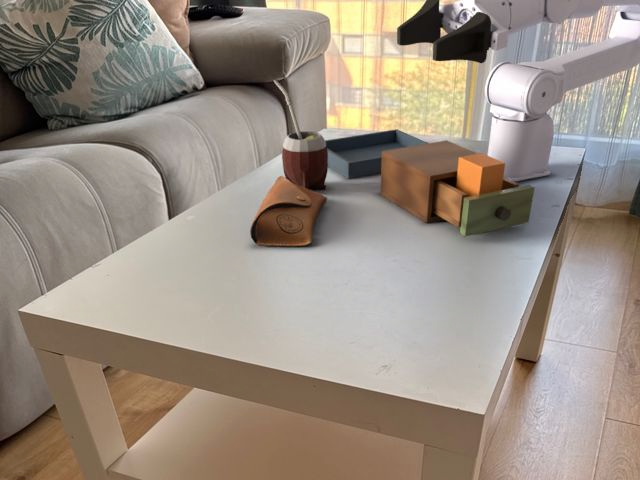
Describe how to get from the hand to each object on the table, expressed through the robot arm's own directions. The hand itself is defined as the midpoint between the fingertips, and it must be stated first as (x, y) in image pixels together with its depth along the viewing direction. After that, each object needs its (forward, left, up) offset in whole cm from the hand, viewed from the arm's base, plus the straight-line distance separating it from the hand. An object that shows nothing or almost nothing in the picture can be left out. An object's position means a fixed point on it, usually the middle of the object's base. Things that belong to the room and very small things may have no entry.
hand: (416, 44), depth 83 cm
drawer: (-3, +12, -19) cm, 23 cm away
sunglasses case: (+19, 0, -20) cm, 28 cm away
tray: (-5, -20, -20) cm, 29 cm away
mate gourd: (+12, -12, -20) cm, 27 cm away
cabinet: (-3, +3, -20) cm, 21 cm away
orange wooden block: (-3, +13, -18) cm, 23 cm away
